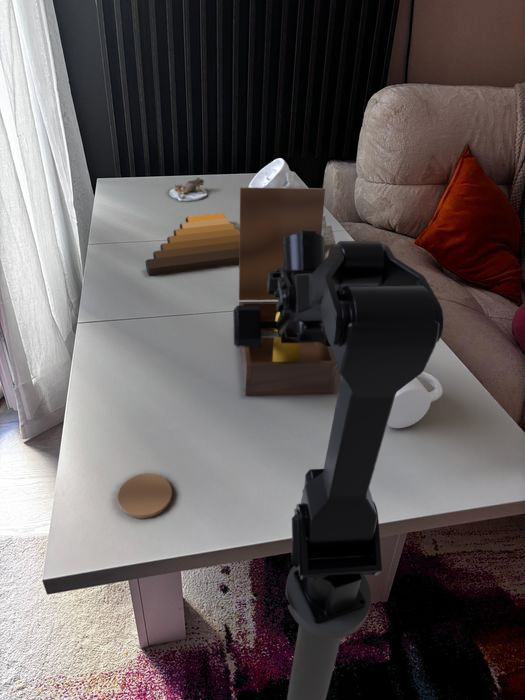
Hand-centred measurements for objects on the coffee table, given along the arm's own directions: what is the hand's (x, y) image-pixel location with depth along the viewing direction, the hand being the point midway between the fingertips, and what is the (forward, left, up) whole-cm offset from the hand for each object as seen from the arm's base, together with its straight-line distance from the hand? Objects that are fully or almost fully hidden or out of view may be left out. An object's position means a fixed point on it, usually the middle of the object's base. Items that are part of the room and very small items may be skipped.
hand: (287, 335), depth 92 cm
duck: (-1, 0, -6) cm, 6 cm away
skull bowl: (+79, -29, -7) cm, 85 cm away
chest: (+3, -1, -7) cm, 8 cm away
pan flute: (+52, +4, -7) cm, 53 cm away
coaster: (-20, +28, -7) cm, 35 cm away
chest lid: (+14, -4, +10) cm, 17 cm away
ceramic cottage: (+25, -17, -7) cm, 32 cm away
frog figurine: (+88, -5, -7) cm, 89 cm away
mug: (-15, -14, -7) cm, 22 cm away
